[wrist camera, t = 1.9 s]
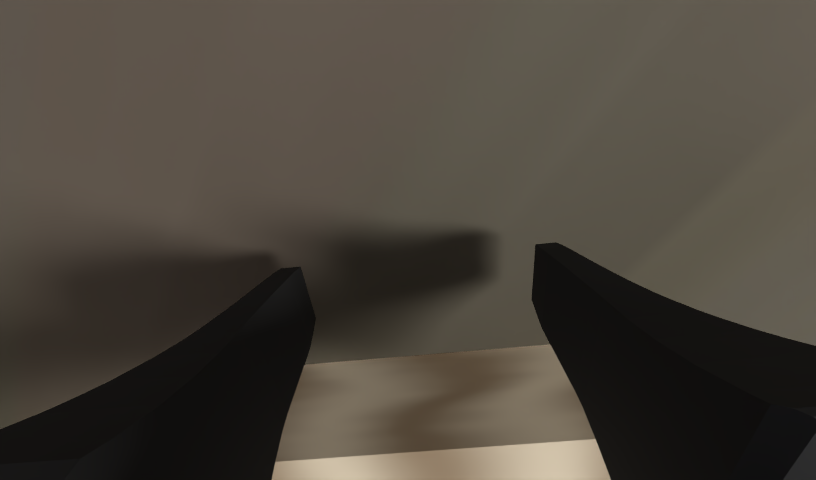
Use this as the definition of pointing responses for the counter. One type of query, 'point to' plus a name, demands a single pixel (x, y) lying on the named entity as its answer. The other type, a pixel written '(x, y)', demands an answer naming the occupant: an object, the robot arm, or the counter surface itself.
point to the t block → (439, 420)
